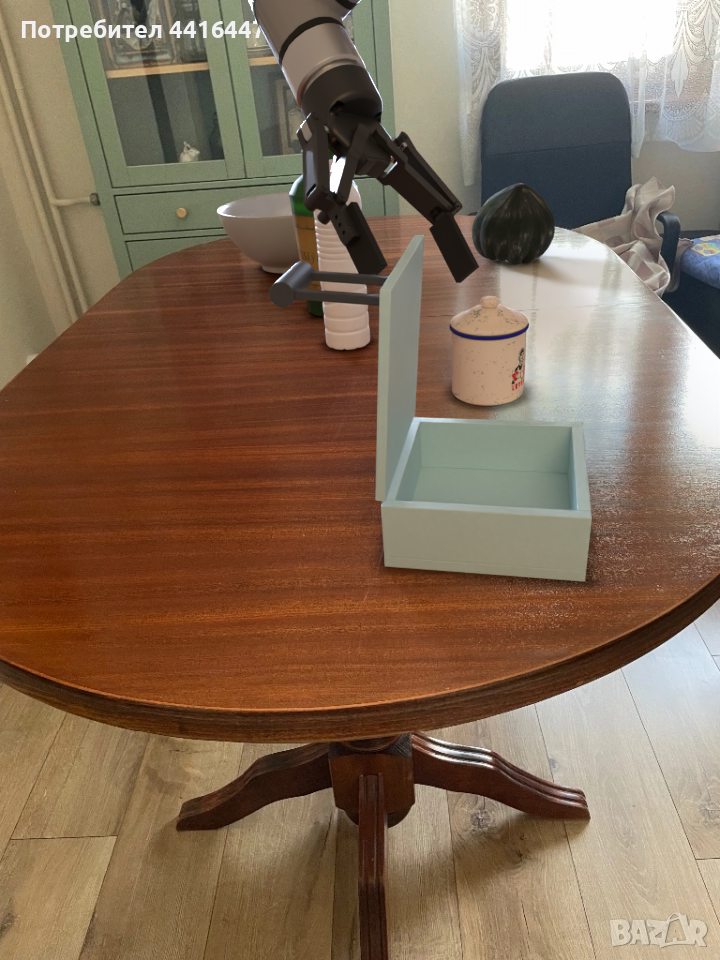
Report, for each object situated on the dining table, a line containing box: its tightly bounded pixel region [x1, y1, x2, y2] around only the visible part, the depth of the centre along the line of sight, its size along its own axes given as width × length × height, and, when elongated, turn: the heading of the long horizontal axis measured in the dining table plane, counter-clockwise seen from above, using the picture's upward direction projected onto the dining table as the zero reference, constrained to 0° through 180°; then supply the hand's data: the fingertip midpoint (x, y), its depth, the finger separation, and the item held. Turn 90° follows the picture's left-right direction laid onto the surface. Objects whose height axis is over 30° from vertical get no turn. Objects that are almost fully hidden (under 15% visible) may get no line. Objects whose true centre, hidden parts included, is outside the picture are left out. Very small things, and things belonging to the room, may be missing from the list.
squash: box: [471, 182, 556, 266], centre depth 136 cm, size 14×15×15 cm
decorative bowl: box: [216, 191, 300, 274], centre depth 145 cm, size 27×27×12 cm
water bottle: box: [314, 159, 371, 351], centre depth 100 cm, size 9×6×25 cm
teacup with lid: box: [449, 295, 530, 407], centre depth 87 cm, size 12×9×12 cm
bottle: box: [289, 149, 359, 318], centre depth 113 cm, size 11×11×28 cm
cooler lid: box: [268, 234, 425, 502], centre depth 60 cm, size 17×16×10 cm
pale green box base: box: [380, 416, 593, 583], centre depth 64 cm, size 16×16×6 cm
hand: (425, 275), depth 68 cm, fingers open, 13 cm apart
